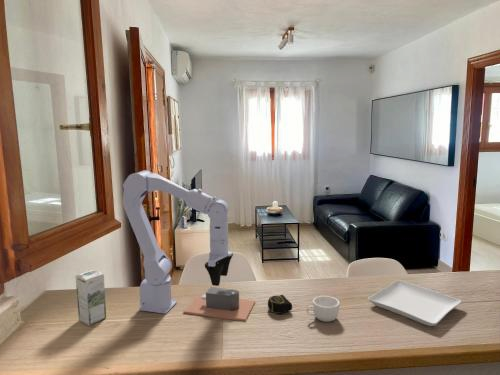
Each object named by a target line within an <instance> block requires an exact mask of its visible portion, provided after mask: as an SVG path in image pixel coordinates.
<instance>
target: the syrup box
mask: <svg viewBox="0 0 500 375" xmlns="http://www.w3.org/2000/svg"><path fill="white" fill-rule="evenodd" d="M75 285H76V286H75V287H76V297H77V298H76V300H77V301H76V302H77V313H78V320H79V321H80V322H81V321H82V323H83V324H85V325H87V326H92V325H94V324H96V323H98V322H100V321H102V320H104V319H107V309H106V308H107V306H106V305H107V304H106V290H105V288H106V287H105V275H104V273H102V272H100V271H98V270H96V269H91V270H88V271H85V272H82V273H80V274H76V275H75Z"/></svg>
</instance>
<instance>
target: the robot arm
mask: <svg viewBox="0 0 500 375" xmlns="http://www.w3.org/2000/svg"><path fill="white" fill-rule="evenodd" d="M122 187H123V194H122V206H123V209H124V212H125V214H126V217H127V219H128V220H129V223H130V226H131V228H132V231H133V233H134V235H135V237H136V240H137V243H138V245H139V248H140V250H141V252H142V255H143V264H142V265H143V269H144V279H143V280H142V281H141V282H140V285H139V291H138V292H139V306H140V307H139V308H138V310H139V311H143V312H151V313H157V314H167V313H168V312H169V311H170V310H171V309H172V308H173V307H174V306H175V305H176V303H178V301H177V300H173V299H172V297H173V296H172V279H171V278H172V277H171V275H170V271H171V270H172V268H173V263H172V260H171V259H170V258H169V257H168V256H167V255H166V253H165V251H164V250H163V249H161V247H160V245H159V244H158V240H157V238H156V236H155V233H154V230H153V227H152V226H151V224H150V220H149V219H148V216H147V214H146V211H145V208H144V206H143V201H144V199H145V197H146V195H147V193H149V192H151V193H152V192H157V191H161V192H163V193H166V194H168V195H171V196H174V197H176V198H178V199H181V200H183V201H184V203H185V205H186V206H187V207H188V208H191V209H193V210H195V211H198V212H199V213H201V214H204V215H207V217H208V218H209V256H208V257H209V258H208V259H207V261H206V262H205V263H204V268H205V270H206V271H207V274H208V275H209V278H210V282H211V285H212V286H214V287H215V286H217V287H219V286H220V284H221V276H223V277H227V275H228V272H229V268H230V264H231V261H232V258H233V256H234V254H233V252H232V251H230V245H229V223H228V222H229V218H228V212H229V208H230V207H229V204H228V203H227V201H226V200H224V199H223V198H217V196H215V195H214V196H212V195H208V194H207V193H205V192H204V191H203V189H201V188H198V189H196V188H193V189H190V190H189V189H187V188H185V187H183V186H181V185H180V184H177V183H175V182H173V181H171V180H169V179H168V178H165V177H164V176H162V175H160V174H158V173H155V172H152V171H149V170H147V169H144V170H140V171H139V172H134V173H131V174H129V175H128V176H127V178H126V179H125V181H124V182H123V184H122Z"/></svg>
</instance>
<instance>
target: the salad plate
mask: <svg viewBox="0 0 500 375" xmlns="http://www.w3.org/2000/svg"><path fill="white" fill-rule="evenodd" d="M367 299H368V301H369V302H370V303H371V304H373V305H374V306H377V307H378V308H381V309H384V310H387V311H389V312H392V313H395V314H397V315H399V316H402V317H405V318H408V319H409V320H412V321H414V322H418V323H419V324H423V325H425V326H429V327H433V326H436V325H438V323H440V322H441V321H442V319H444V317H446V316H447V314H449V313H450V312H451V311H452V310H454V309H455V308H456V307H458V306H459V305H460V304H461V303H462V300H461V299H459V298H456V297H453V296H451V295H447V294H444V293H441V292H438V291H436V290H433V289H430V288H426V287H423V286H420V285H417V284H414V283H410V282H408V281H404V280H401V279H397V280H395V281H394V282H392V283H389V285H387V286H385V287H384V288H382V289H381V290H379V291H377V292H375V293H374V294H372V295H370V296H368V297H367Z"/></svg>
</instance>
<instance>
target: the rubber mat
mask: <svg viewBox="0 0 500 375" xmlns="http://www.w3.org/2000/svg"><path fill="white" fill-rule="evenodd" d="M203 295H204V294H197V296H196V297H195V298H193V300H192V301H191V302H190V303H189V305H187V307H186V308H184V310H183V314H188V315H196V316H202V317H203V316H204V317H211V318H219V319H226V320H233V321H241V322H242V321H243V322H247V319H248V317H249V315H250V314H251V312H252V309H253V307H254V306H255V304H256V300H250V299H241V298H239V309H238V310H235V311H228V310H220V309H212V308H206V300H204V299H201V297H202V296H203Z"/></svg>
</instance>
